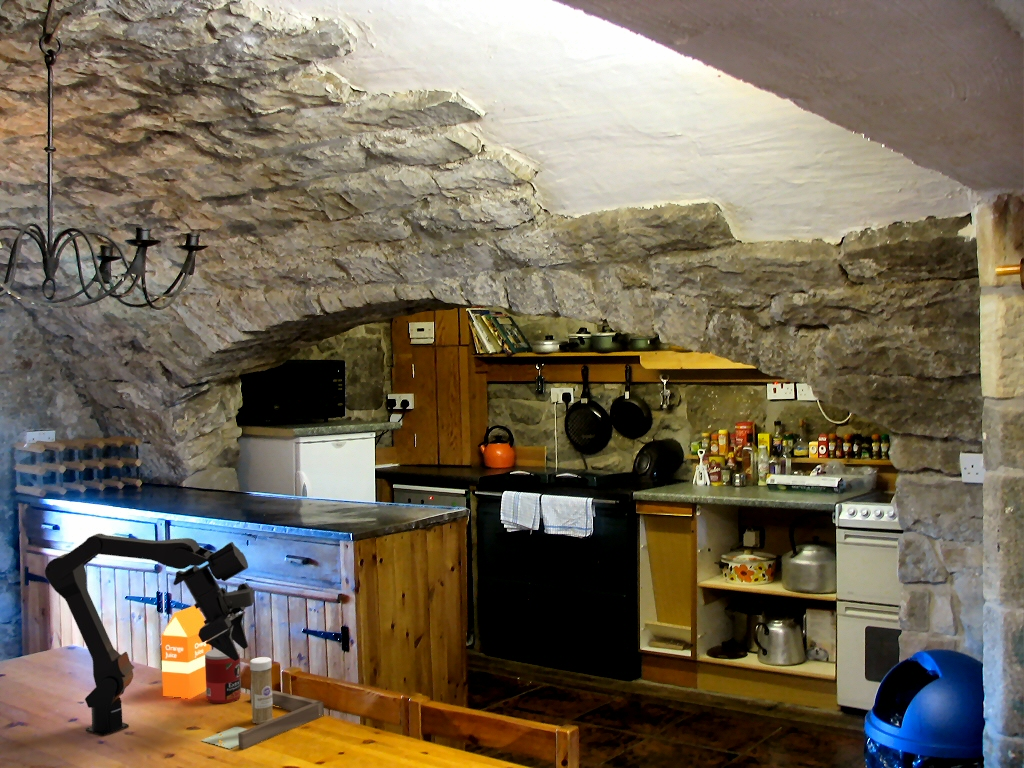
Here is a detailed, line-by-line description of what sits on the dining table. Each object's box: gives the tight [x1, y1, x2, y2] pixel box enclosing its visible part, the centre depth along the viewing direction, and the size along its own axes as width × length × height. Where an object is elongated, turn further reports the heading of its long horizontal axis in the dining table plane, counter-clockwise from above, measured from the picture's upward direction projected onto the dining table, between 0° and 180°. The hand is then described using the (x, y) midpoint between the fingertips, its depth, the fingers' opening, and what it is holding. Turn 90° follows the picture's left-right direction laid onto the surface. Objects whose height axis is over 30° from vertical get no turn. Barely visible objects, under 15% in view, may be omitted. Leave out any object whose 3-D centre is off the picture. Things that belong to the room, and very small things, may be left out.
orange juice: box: [160, 605, 212, 700], centre depth 229 cm, size 8×9×20 cm
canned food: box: [205, 648, 242, 704], centre depth 223 cm, size 8×8×11 cm
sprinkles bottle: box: [249, 656, 274, 725], centre depth 207 cm, size 5×5×13 cm
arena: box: [200, 687, 325, 750], centre depth 206 cm, size 22×24×3 cm
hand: (241, 653), depth 207 cm, fingers open, 9 cm apart
